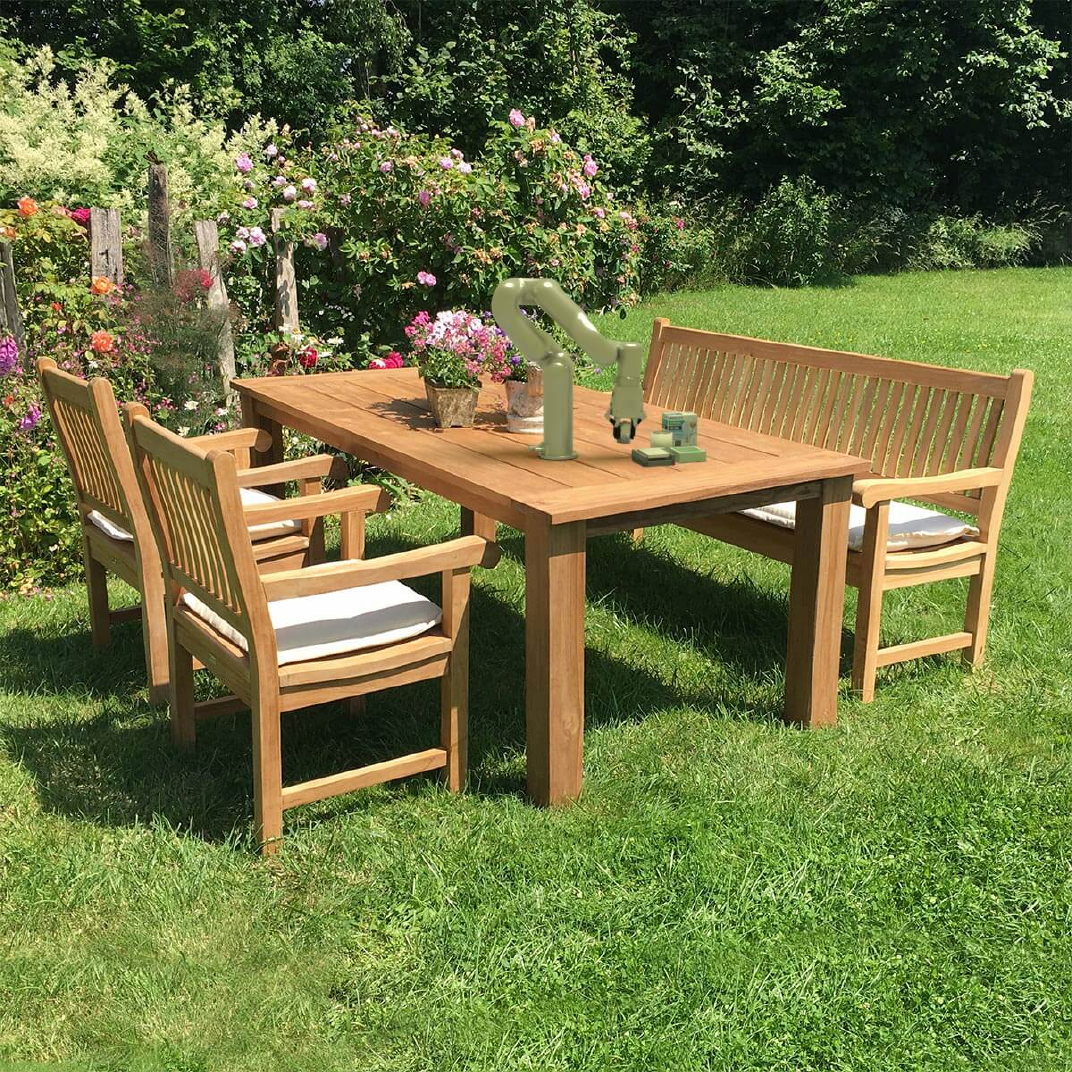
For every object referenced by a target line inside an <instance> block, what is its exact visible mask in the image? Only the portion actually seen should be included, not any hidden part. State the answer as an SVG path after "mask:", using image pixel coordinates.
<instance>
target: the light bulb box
mask: <svg viewBox="0 0 1072 1072" xmlns="http://www.w3.org/2000/svg"><path fill="white" fill-rule="evenodd" d="M698 417H699V416H698V414H697V413H694V411H675V412H674V411H672V412H662V413H661V431H670V432H672V433H673V434H672V448H673V447H688V446H696V447H697V439H698V420H699V419H698Z"/></svg>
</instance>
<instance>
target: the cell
mask: <svg viewBox="0 0 1072 1072" xmlns="http://www.w3.org/2000/svg"><path fill="white" fill-rule="evenodd" d="M619 428H620V432H619V439H618V440H616V443H617V444H620V445H630V444H631V441H632V439H631V428H632V422H631V421H628V420H620V422H619Z"/></svg>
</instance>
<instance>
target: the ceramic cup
mask: <svg viewBox="0 0 1072 1072" xmlns="http://www.w3.org/2000/svg"><path fill="white" fill-rule="evenodd" d="M672 434H673V433H672V432H670V431H662V430H654V431H653V430H652V431H650V446H649V448H658V447H664V448H665V450H667V451H669V448H673V447H672Z"/></svg>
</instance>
